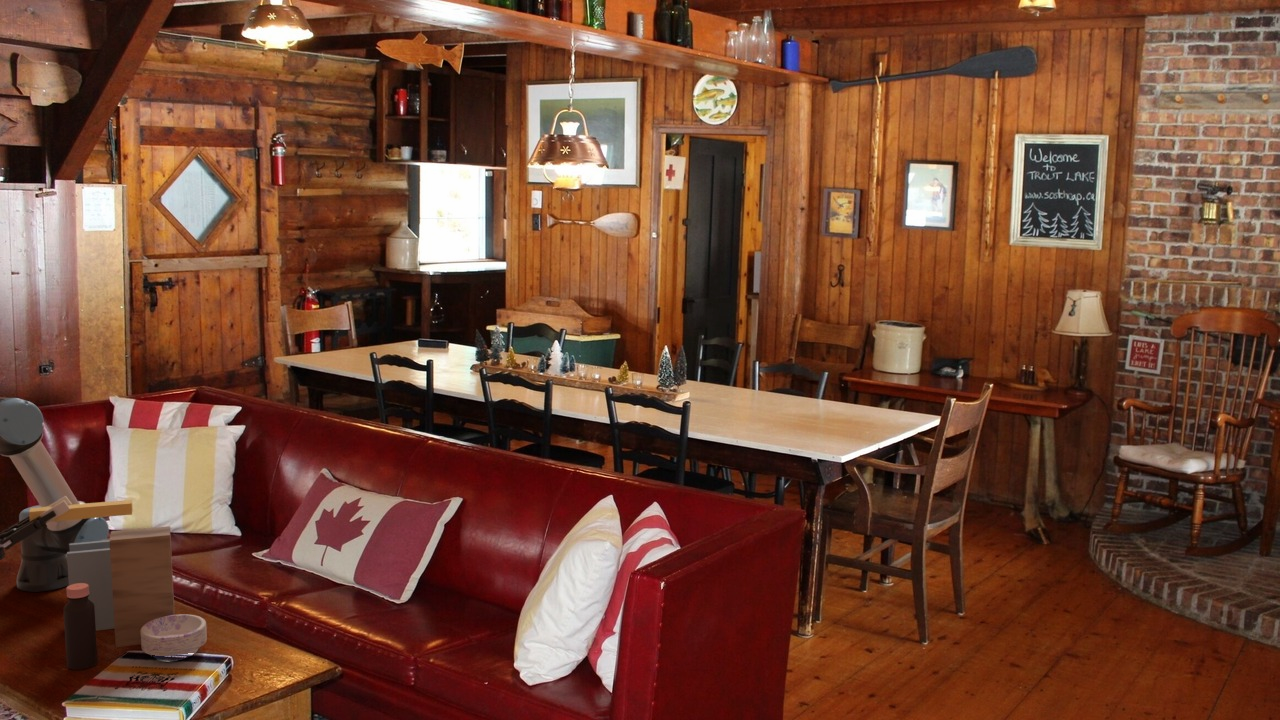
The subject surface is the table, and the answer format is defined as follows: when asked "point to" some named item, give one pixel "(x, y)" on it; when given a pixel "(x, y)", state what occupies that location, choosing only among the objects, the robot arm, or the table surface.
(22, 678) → the table surface
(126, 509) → the ochre bar
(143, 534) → the walnut pedestal
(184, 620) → the paper bowls
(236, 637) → the table surface
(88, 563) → the grey u cradle
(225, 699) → the table surface
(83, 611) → the bottle
